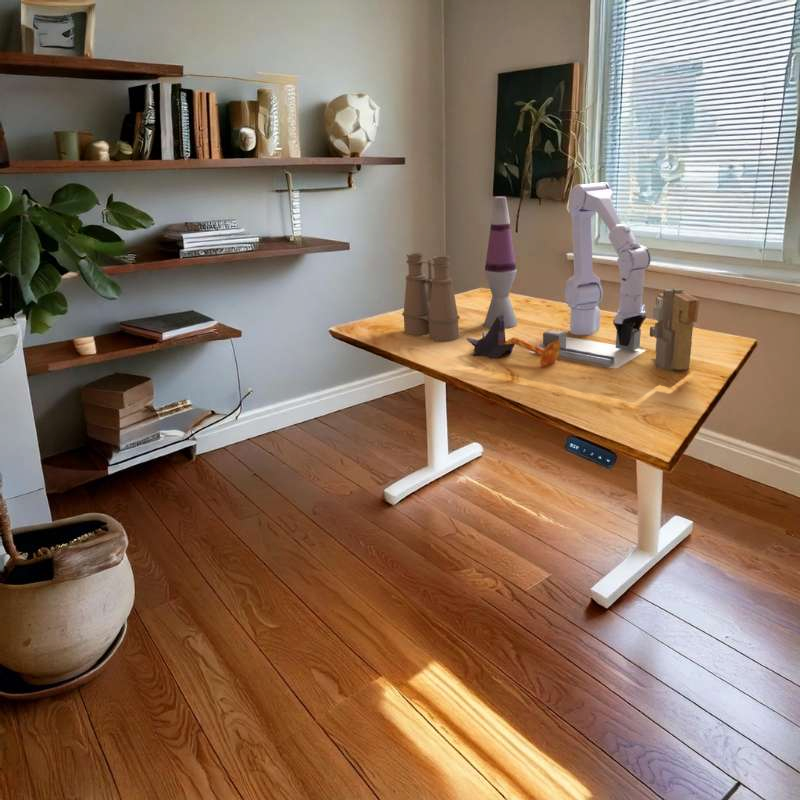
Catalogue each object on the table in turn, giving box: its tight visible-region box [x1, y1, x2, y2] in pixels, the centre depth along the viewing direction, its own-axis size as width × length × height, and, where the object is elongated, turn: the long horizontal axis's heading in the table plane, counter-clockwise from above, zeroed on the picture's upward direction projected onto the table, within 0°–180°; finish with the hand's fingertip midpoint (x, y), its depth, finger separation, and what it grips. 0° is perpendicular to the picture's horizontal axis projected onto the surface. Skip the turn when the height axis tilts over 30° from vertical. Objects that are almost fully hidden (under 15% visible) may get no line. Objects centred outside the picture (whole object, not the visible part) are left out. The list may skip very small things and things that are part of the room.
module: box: [615, 328, 642, 351], centre depth 187 cm, size 4×5×5 cm
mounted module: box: [542, 329, 567, 348], centre depth 191 cm, size 4×5×5 cm
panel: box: [529, 336, 647, 370], centre depth 190 cm, size 18×26×1 cm
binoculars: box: [401, 252, 460, 343], centre depth 212 cm, size 21×10×25 cm, turn 46°
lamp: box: [483, 196, 518, 329], centre depth 216 cm, size 11×11×40 cm
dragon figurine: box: [465, 315, 561, 369], centre depth 187 cm, size 10×12×25 cm
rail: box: [537, 343, 615, 368], centre depth 184 cm, size 3×22×2 cm, turn 48°
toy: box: [649, 288, 700, 371], centre depth 172 cm, size 6×17×20 cm, turn 2°
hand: (627, 343), depth 187 cm, fingers closed on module, 4 cm apart
